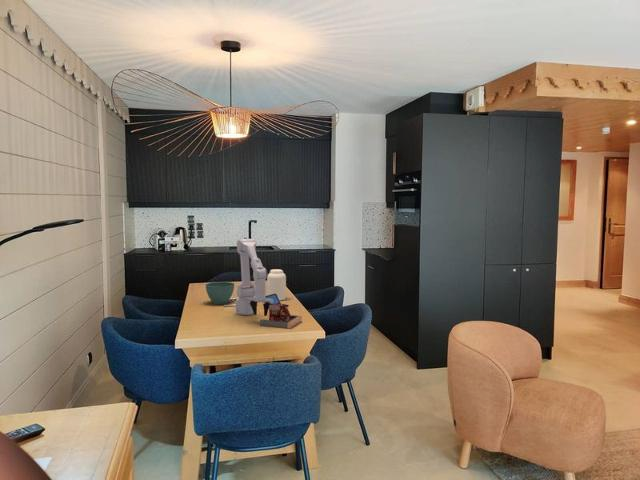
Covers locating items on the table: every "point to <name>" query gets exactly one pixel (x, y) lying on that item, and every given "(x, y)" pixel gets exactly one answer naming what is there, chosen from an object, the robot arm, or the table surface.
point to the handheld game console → (275, 299)
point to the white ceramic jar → (277, 284)
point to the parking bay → (282, 322)
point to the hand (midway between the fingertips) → (260, 315)
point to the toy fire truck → (279, 313)
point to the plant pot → (220, 291)
